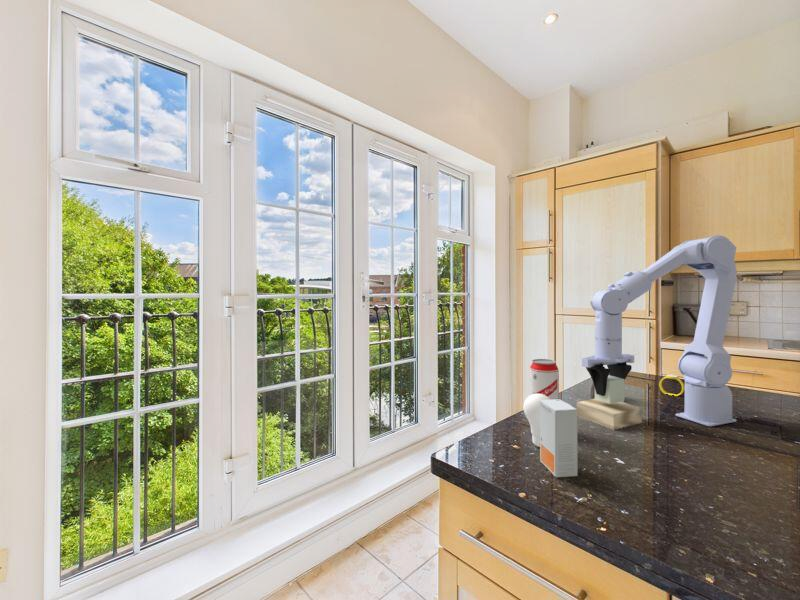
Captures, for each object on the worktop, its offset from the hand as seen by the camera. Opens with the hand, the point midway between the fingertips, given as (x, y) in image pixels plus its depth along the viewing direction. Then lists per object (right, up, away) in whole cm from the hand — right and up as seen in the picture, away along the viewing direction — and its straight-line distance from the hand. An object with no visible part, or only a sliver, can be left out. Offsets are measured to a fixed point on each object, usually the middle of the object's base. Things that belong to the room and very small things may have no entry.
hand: (608, 393), depth 91 cm
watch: (+30, -6, +19) cm, 36 cm away
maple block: (0, -7, 0) cm, 7 cm away
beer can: (-18, -7, -6) cm, 20 cm away
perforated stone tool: (+6, -6, +14) cm, 16 cm away
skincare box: (-23, -8, -24) cm, 34 cm away
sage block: (0, -2, 0) cm, 2 cm away
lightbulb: (-23, -8, -14) cm, 28 cm away
